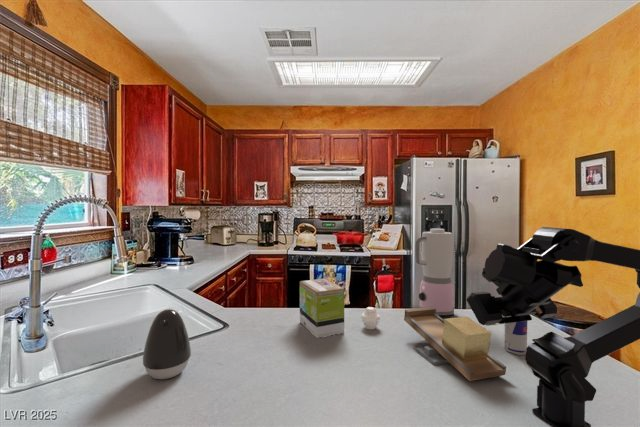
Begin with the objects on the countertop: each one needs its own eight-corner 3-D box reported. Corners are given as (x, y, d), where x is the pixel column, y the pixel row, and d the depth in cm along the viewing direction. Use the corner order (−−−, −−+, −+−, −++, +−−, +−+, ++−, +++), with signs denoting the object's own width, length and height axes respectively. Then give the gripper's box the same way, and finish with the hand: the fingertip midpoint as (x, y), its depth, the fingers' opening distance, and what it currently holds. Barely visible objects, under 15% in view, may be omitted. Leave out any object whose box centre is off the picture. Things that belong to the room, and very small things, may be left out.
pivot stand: (479, 358, 82) (480, 348, 82) (434, 365, 79) (434, 355, 79) (458, 345, 90) (458, 336, 90) (416, 351, 86) (416, 342, 86)
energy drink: (530, 356, 84) (531, 311, 84) (508, 354, 85) (509, 310, 85) (521, 347, 89) (522, 305, 89) (501, 345, 90) (501, 304, 90)
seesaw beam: (505, 374, 72) (507, 361, 72) (469, 380, 70) (471, 366, 69) (431, 317, 99) (433, 306, 98) (404, 320, 96) (405, 309, 96)
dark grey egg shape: (136, 389, 67) (136, 319, 67) (149, 365, 77) (149, 305, 77) (187, 382, 70) (187, 315, 70) (193, 360, 80) (193, 301, 80)
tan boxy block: (487, 359, 76) (491, 332, 75) (463, 362, 74) (466, 335, 73) (463, 340, 83) (467, 316, 82) (441, 343, 81) (444, 318, 80)
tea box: (298, 322, 107) (298, 280, 107) (324, 318, 112) (324, 277, 111) (316, 339, 94) (316, 290, 94) (345, 334, 98) (345, 287, 98)
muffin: (379, 324, 106) (379, 304, 106) (380, 331, 100) (380, 310, 100) (361, 323, 107) (361, 303, 107) (361, 330, 101) (361, 309, 101)
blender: (439, 306, 126) (440, 227, 126) (461, 316, 114) (462, 229, 114) (405, 310, 121) (406, 228, 121) (425, 321, 110) (426, 230, 109)
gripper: (544, 251, 68) (501, 289, 79) (473, 254, 63) (438, 294, 73) (583, 297, 60) (529, 332, 71) (506, 304, 55) (461, 341, 66)
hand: (489, 323), depth 71 cm, fingers closed
